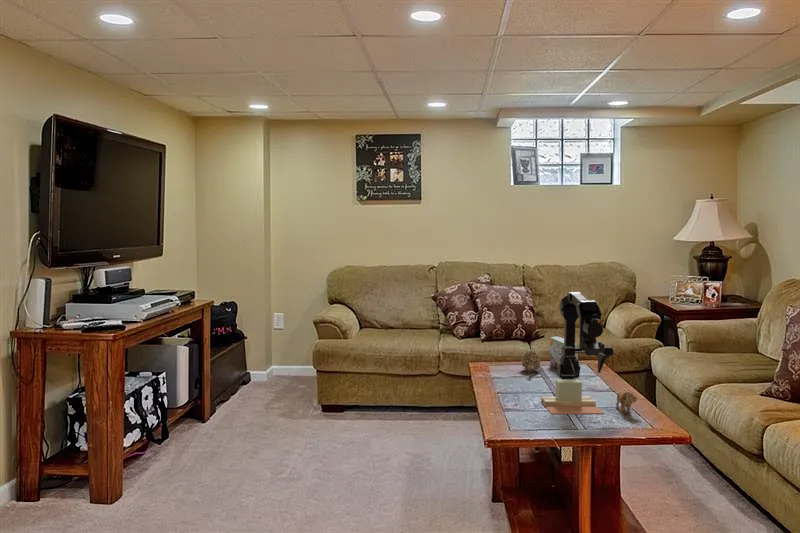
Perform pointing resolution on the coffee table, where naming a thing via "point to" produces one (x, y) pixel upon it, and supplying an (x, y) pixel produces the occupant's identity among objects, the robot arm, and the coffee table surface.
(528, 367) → the pine cone
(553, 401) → the birch board
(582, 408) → the rubber mat
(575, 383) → the green block
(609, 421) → the coffee table surface
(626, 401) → the lion figurine
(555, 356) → the snack box
